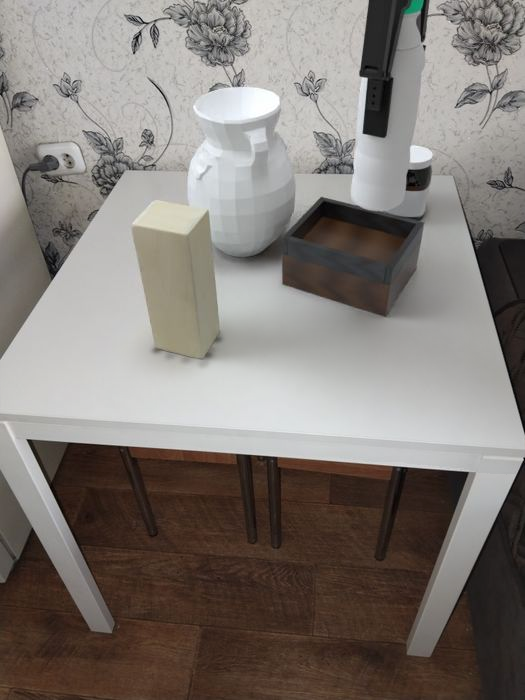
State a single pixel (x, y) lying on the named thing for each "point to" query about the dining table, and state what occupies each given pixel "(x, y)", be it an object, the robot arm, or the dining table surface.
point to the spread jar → (416, 184)
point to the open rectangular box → (351, 254)
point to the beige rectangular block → (178, 276)
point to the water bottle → (391, 126)
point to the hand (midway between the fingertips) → (386, 121)
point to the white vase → (242, 170)
